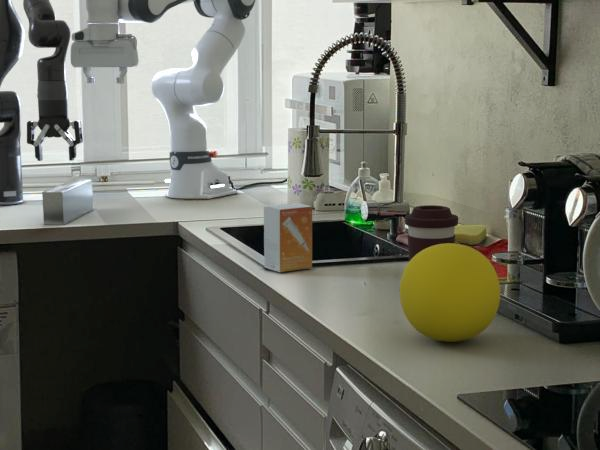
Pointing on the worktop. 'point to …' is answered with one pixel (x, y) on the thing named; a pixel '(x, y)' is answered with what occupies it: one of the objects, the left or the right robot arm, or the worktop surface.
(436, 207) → the coffee cup
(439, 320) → the toy
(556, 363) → the worktop surface
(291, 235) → the small box
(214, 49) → the right robot arm
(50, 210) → the bar
